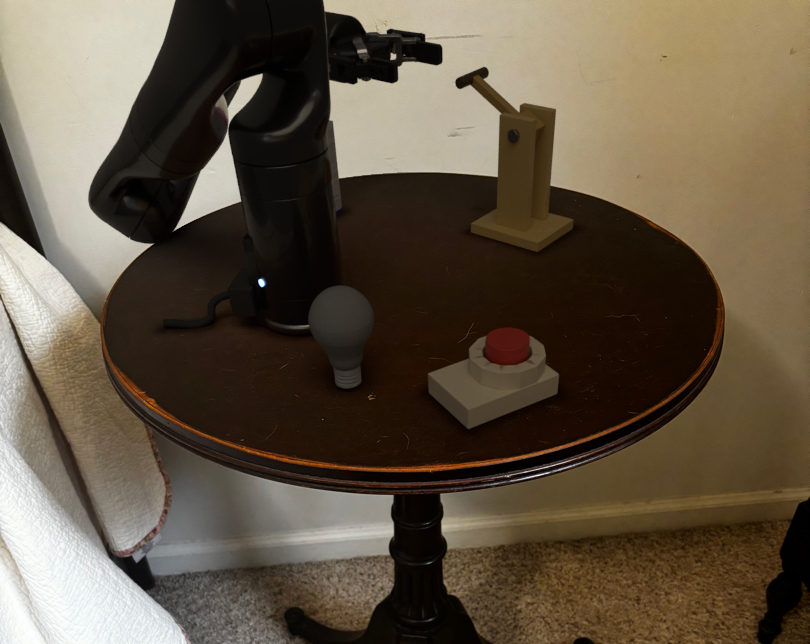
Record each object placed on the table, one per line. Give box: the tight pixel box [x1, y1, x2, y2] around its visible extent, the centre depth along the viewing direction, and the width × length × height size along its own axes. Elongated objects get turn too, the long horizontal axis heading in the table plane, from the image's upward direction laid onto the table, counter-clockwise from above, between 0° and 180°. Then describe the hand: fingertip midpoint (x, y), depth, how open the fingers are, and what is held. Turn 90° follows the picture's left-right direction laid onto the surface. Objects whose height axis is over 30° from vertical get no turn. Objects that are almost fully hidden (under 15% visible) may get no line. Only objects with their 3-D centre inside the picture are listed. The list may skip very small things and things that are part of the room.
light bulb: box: [308, 285, 375, 389], centre depth 74 cm, size 6×6×10 cm
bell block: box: [427, 335, 560, 430], centre depth 74 cm, size 10×7×4 cm
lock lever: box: [454, 66, 545, 143], centre depth 93 cm, size 11×5×2 cm, turn 50°
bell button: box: [485, 327, 530, 366], centre depth 73 cm, size 4×4×2 cm
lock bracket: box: [470, 102, 575, 253], centre depth 96 cm, size 10×8×14 cm
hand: (418, 64), depth 97 cm, fingers open, 8 cm apart
